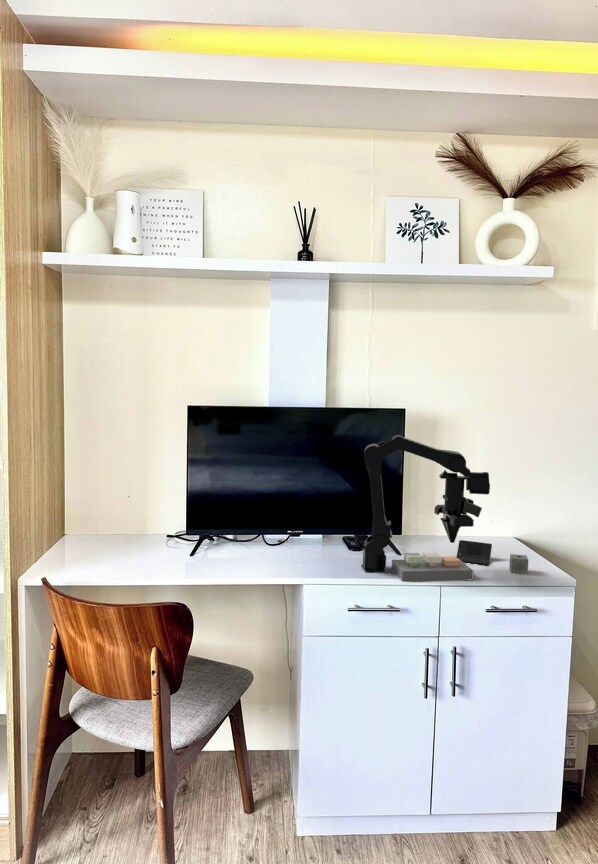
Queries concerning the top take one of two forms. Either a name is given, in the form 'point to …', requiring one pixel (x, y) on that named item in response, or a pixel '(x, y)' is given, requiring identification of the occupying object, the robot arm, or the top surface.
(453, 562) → the peach cube
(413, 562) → the pale green cube
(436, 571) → the gray rectangular slab
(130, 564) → the top surface
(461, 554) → the handheld gaming console
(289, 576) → the top surface
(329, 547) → the top surface
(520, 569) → the dice cube
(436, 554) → the cream cube
